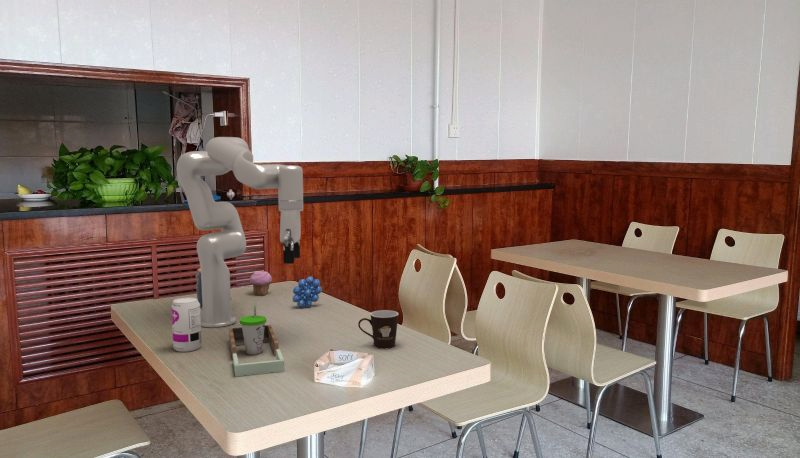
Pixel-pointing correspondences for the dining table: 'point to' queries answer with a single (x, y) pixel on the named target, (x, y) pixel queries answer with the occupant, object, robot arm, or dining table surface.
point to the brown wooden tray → (238, 338)
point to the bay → (259, 366)
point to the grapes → (307, 292)
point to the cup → (253, 332)
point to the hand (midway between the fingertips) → (292, 260)
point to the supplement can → (186, 324)
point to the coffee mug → (383, 328)
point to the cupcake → (260, 282)
